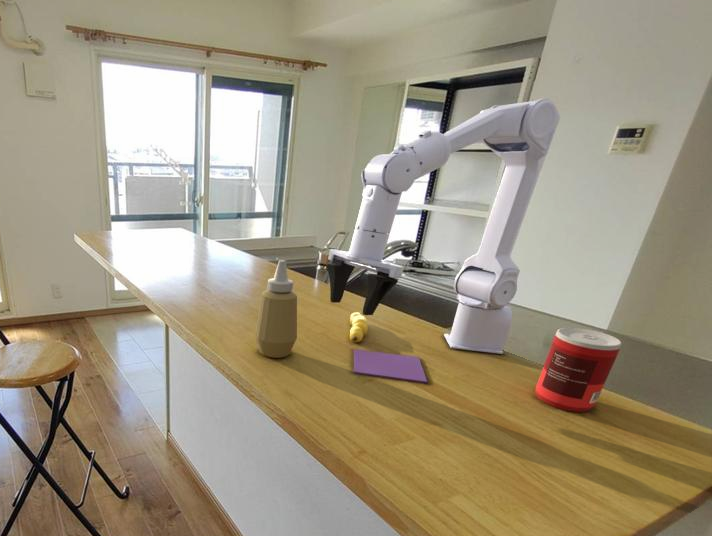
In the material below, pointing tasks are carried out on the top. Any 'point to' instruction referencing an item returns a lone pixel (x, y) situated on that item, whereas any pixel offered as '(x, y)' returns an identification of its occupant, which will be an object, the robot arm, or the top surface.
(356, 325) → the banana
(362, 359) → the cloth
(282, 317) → the squeeze bottle
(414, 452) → the top surface
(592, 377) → the canned food
